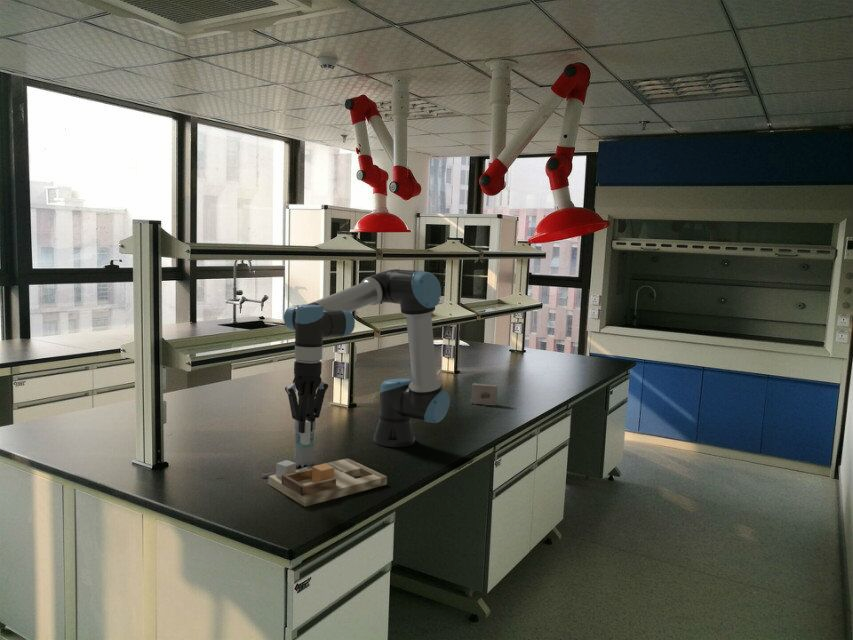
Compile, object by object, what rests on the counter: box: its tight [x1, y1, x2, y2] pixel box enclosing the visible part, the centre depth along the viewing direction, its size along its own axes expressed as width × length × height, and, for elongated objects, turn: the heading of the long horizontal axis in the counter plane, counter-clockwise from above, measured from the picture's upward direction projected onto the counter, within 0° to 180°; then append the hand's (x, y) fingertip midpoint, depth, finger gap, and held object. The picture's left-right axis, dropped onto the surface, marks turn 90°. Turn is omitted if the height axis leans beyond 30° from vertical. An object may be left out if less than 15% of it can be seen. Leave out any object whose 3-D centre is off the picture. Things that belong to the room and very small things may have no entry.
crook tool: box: [260, 471, 276, 479], centre depth 197 cm, size 10×4×1 cm, turn 127°
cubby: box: [282, 469, 336, 496], centre depth 184 cm, size 11×11×2 cm
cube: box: [312, 462, 334, 483], centre depth 187 cm, size 4×4×4 cm
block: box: [275, 459, 297, 478], centre depth 190 cm, size 4×4×4 cm
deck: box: [267, 457, 388, 507], centre depth 192 cm, size 28×20×3 cm
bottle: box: [293, 419, 317, 469], centre depth 206 cm, size 7×7×20 cm
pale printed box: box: [470, 382, 498, 406], centre depth 301 cm, size 12×4×10 cm, turn 81°
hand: (305, 443), depth 181 cm, fingers closed
